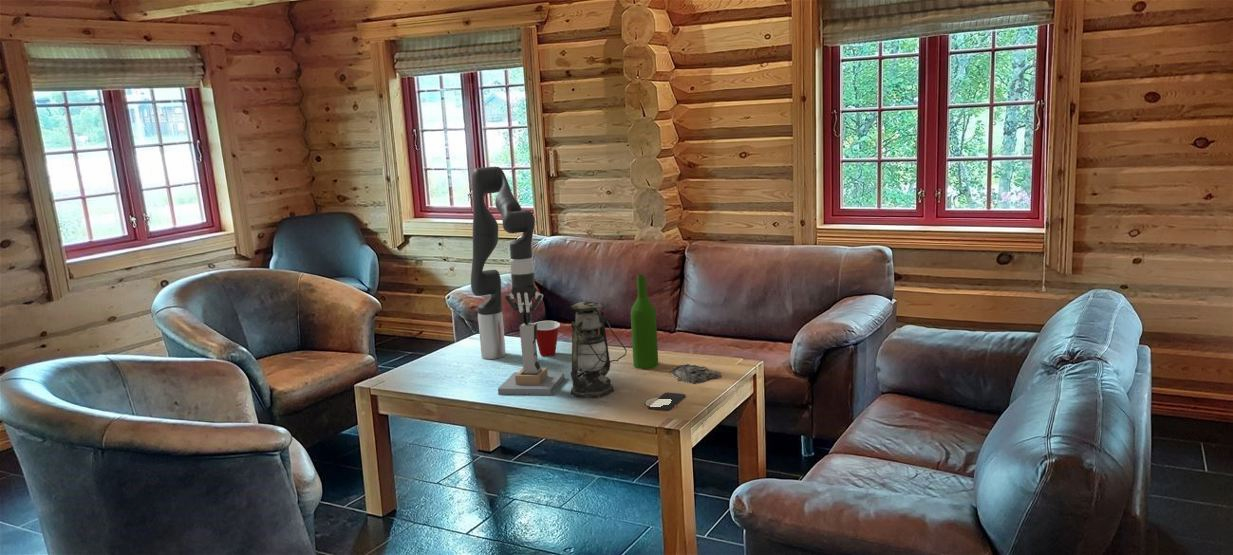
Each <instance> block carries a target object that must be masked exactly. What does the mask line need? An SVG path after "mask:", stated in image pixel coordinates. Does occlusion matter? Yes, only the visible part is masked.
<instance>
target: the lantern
mask: <svg viewBox="0 0 1233 555" xmlns="http://www.w3.org/2000/svg"><path fill="white" fill-rule="evenodd" d="M603 306H604V304H603V303H601V302H597V301H590V300H589V301H587V300H586V301H579V302H578V303H574V304H573V305H571V306H570V308H571V309H572V310H575V311H576V312H575V321H574V320H572V321H571V325H570V326H571V328H572V331H571V332H572V333H571V339H572V340H571V371H570V376H571V381H572V387H571V388H570V392H569V393H570V395H571V396H572V395H573V397H575V398H578V399H599V398H598V397H600V398H604V397H607V396H610V395H612V394H613V393H614V392H615V387H614V386H613V384H612V383H611V379H610V378H609V377H607V376H606V375H607V374H608V373H609V372H610V368H611V362H619V360H621V359H622V358H623V357H625V356H626V355H627V349H626V346H624V344H623V342H621V340H620V339H619V338H618V337H617V335H616V334H615V332H614V331H613V330H612V327H611V324H610V323H609V322H608V320H607V319H606V317H605V314H604V312H603V311H599V310H598V309H600V308H602V307H603ZM605 322H606V323H607V325H608V328H609V330H610V332H611V334H613V336H614V337H615V338H616V339H617V341H618V342H619V344H620V345H621V346H622V347H623V349H624V350H625V353H623V355H622V356H619V357H618V358H617V359H613V360H611V359H610V353H609V346H608V341H607V340H608V339H607V333H606V325H605ZM603 396H604V397H603Z"/></svg>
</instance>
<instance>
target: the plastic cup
mask: <svg viewBox="0 0 1233 555" xmlns="http://www.w3.org/2000/svg"><path fill="white" fill-rule="evenodd" d="M535 323H537V338H536V346H537V347H538V352H539V355H540V356H541V357H551V356H555V355H556V353H557V343H558V334H559V328H560V326H561V323H560V322H558V321H556V320H555V321H554V320H541V321H536V322H535Z"/></svg>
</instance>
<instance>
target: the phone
mask: <svg viewBox="0 0 1233 555" xmlns="http://www.w3.org/2000/svg"><path fill="white" fill-rule="evenodd" d="M686 396H687V395H686V394H685V393H679V392H678V393H677V392H667V391H666V392H664V393H663V394H661V395H660V396H659V397H658V398H657V399H671V400H672V401H671V403H670V404H669V405H663V406H661V407H650V405H648V407H647V408H648V410H652V409H653V411H662V410H663V411H664V412H669V411H671V410H672V409H674V408H675V407H676V406H677V405H678V404H679V403H680V402H682V401H683V400H684V399H685V398H686ZM675 405H676V406H675ZM674 406H675V407H674ZM654 409H655V410H654Z"/></svg>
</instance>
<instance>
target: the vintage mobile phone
mask: <svg viewBox="0 0 1233 555" xmlns="http://www.w3.org/2000/svg"><path fill="white" fill-rule="evenodd" d="M524 311H525V323H522V324H520V325H519V336H520V345H521V346H520V348H521V355H522V365H523V366H522V367H523V368H522V369H524V373H525V374H538V373H539V372H540V370H541V368H542V367H541V365H540V362H539V361H538V360H539V359H538V352H537V351H538V350H537V341H536V338H537V323H536V322H530V323H527V321H526V306H525V302H524Z"/></svg>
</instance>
